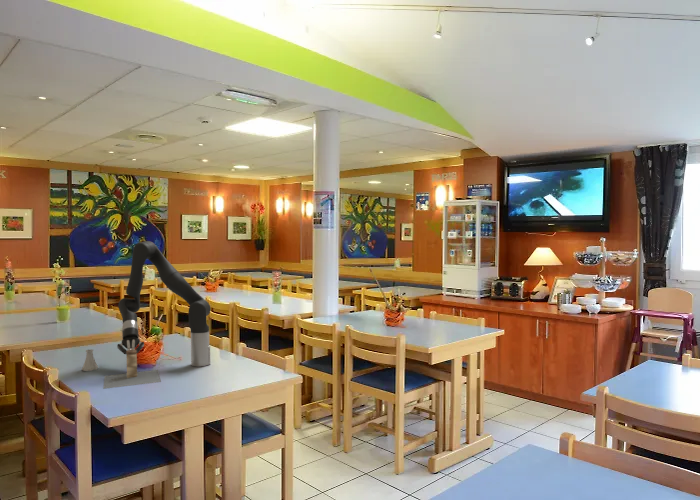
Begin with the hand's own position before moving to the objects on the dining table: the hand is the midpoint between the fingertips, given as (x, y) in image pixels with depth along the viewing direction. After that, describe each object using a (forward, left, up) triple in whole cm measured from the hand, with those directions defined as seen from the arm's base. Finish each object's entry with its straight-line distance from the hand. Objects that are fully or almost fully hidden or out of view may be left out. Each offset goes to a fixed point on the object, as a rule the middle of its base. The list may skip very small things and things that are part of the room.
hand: (131, 360), depth 251 cm
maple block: (0, +7, -6) cm, 9 cm away
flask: (+19, -16, -7) cm, 26 cm away
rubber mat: (0, +12, -6) cm, 13 cm away
